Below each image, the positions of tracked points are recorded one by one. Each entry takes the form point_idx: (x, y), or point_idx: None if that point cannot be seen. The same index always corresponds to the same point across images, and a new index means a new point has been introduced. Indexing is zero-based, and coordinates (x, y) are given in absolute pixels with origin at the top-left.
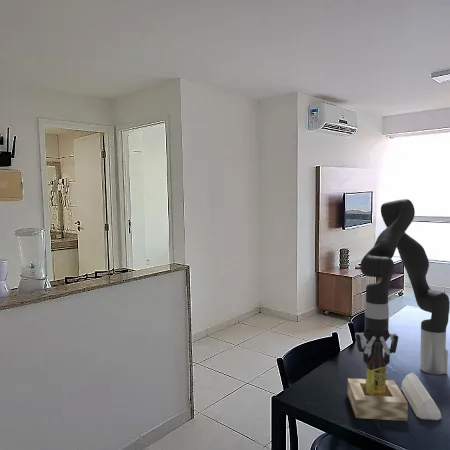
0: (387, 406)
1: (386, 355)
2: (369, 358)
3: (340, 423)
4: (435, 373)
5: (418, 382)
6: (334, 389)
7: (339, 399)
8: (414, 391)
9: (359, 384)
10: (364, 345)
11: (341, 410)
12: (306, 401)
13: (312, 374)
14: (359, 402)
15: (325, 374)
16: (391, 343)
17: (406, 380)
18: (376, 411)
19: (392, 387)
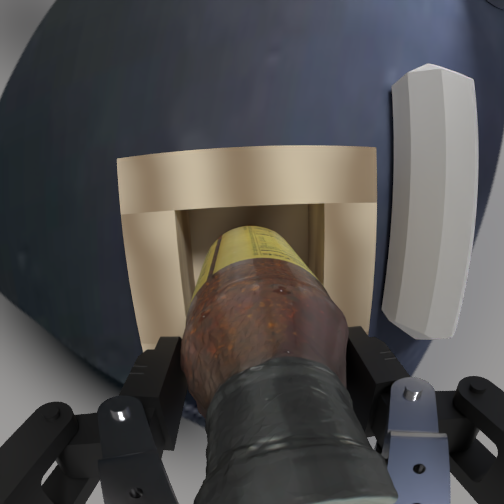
0: None
1: (369, 430)
2: (194, 398)
3: (122, 375)
4: (495, 4)
5: (472, 190)
6: (97, 127)
7: (110, 215)
8: (433, 222)
9: (172, 229)
10: (103, 453)
11: (118, 301)
12: (15, 254)
13: (42, 27)
14: None
15: (87, 6)
16: (501, 449)
17: (429, 97)
18: None
19: (348, 237)
